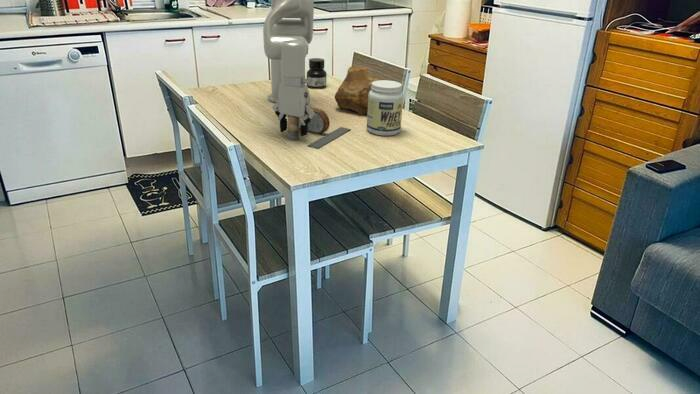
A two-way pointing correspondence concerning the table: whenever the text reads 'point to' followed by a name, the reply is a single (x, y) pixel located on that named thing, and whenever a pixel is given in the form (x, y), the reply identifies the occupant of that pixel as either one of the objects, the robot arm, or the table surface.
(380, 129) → the supplement tub
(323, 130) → the tin
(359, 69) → the rough brown rock
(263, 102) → the table surface
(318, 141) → the strip
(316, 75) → the ink bottle
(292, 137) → the tan and grey cylinder
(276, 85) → the robot arm
